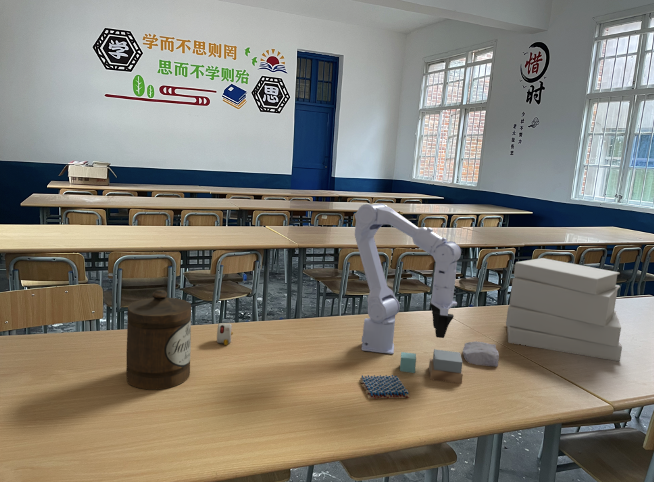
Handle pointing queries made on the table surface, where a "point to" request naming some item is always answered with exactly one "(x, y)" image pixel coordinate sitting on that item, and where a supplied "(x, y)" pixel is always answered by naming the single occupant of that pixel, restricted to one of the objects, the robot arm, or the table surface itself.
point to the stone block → (481, 353)
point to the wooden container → (158, 342)
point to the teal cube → (408, 362)
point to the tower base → (444, 374)
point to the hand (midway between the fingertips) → (438, 332)
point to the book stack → (564, 308)
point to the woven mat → (384, 387)
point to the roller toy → (224, 333)
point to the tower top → (447, 361)
